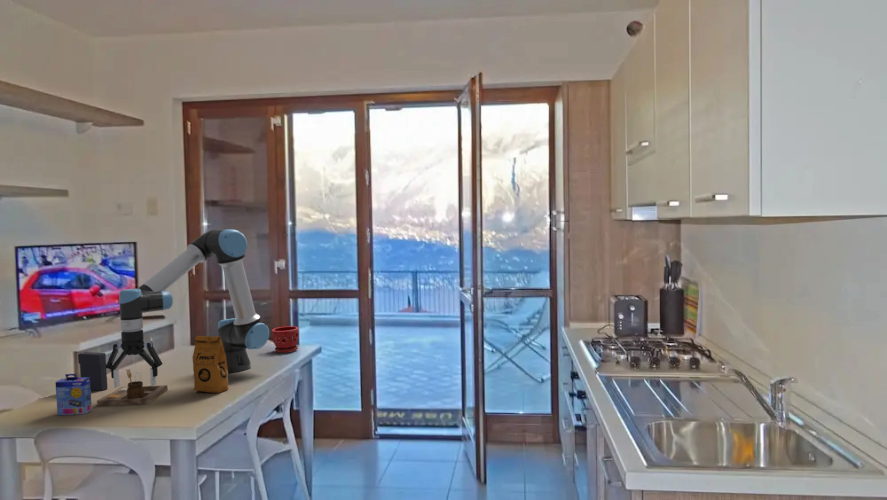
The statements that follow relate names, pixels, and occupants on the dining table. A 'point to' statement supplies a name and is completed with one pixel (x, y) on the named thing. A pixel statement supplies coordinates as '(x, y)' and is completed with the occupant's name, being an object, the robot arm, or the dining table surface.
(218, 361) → the coffee package
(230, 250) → the robot arm
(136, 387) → the utensil holder
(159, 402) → the dining table surface
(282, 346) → the plant pot
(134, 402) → the socket board
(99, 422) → the dining table surface
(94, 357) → the black boxy piece
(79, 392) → the ink cartridge box
